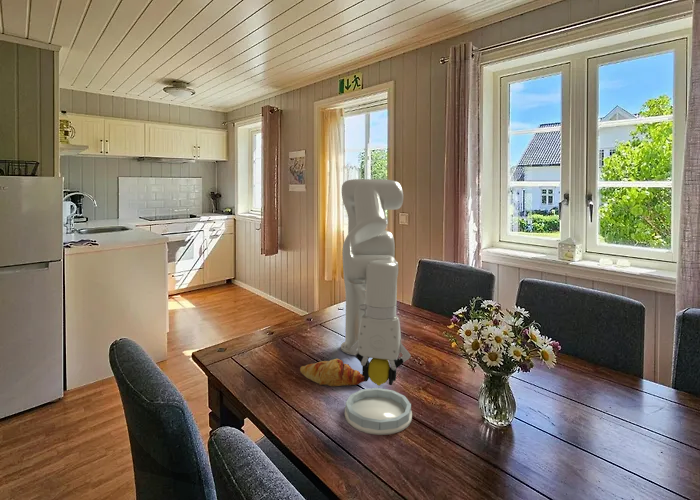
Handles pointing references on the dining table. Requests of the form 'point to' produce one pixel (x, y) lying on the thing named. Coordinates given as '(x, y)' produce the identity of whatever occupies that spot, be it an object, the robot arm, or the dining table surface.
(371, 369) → the lemon
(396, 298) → the robot arm
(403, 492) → the dining table surface
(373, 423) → the dish
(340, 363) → the croissant
